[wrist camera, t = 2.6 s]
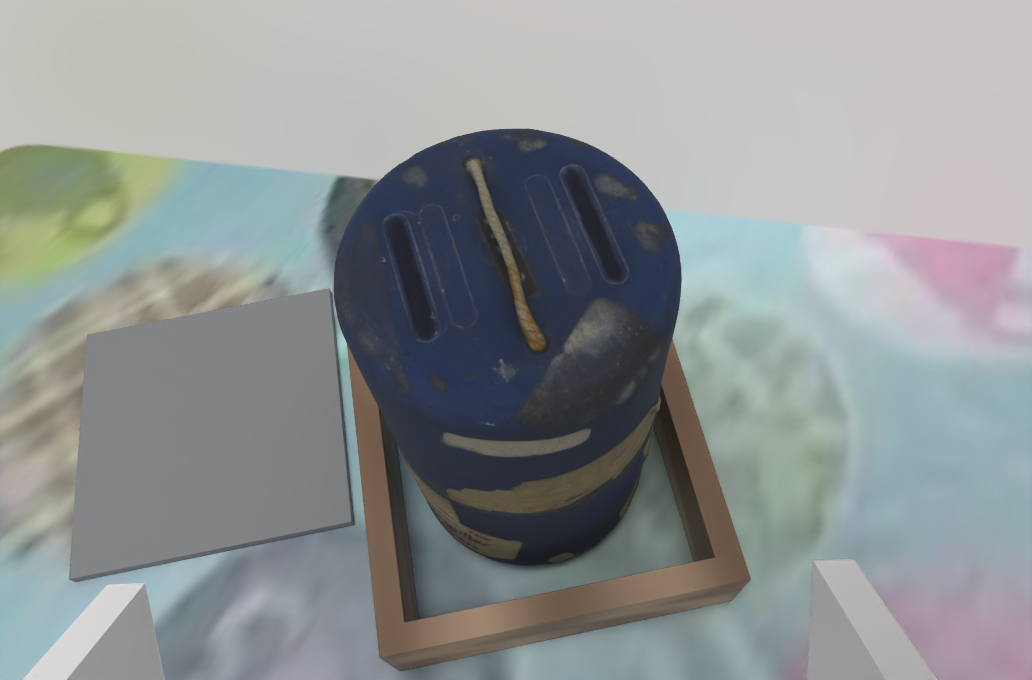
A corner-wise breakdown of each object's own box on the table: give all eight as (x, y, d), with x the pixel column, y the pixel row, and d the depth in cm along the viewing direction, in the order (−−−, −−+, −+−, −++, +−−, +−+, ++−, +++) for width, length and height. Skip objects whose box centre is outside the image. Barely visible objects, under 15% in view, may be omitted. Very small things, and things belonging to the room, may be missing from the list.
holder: (637, 300, 40) (644, 253, 36) (730, 600, 33) (750, 579, 29) (363, 353, 39) (343, 311, 36) (400, 671, 32) (379, 657, 29)
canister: (627, 363, 38) (669, 67, 22) (653, 568, 34) (728, 378, 18) (424, 377, 38) (323, 94, 23) (422, 582, 34) (294, 407, 18)
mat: (331, 293, 41) (329, 288, 40) (354, 524, 35) (351, 521, 35) (92, 339, 40) (86, 334, 40) (75, 581, 35) (68, 579, 34)
